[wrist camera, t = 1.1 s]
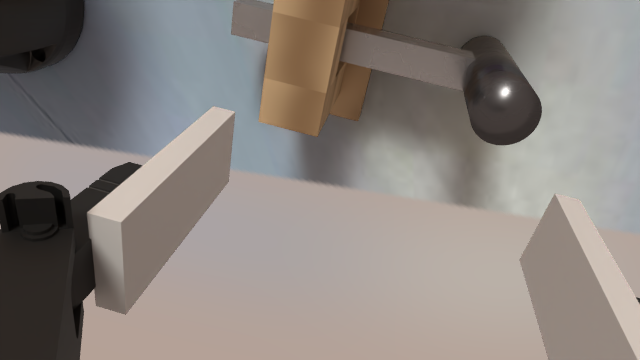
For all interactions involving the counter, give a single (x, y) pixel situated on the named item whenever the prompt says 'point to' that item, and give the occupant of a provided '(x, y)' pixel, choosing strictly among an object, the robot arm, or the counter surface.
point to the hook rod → (432, 70)
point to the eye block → (314, 63)
